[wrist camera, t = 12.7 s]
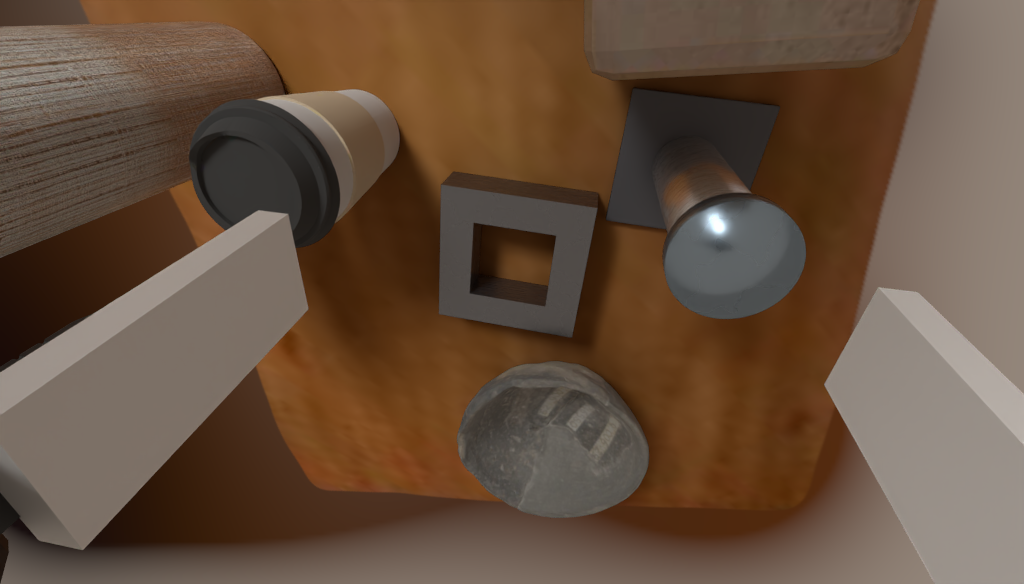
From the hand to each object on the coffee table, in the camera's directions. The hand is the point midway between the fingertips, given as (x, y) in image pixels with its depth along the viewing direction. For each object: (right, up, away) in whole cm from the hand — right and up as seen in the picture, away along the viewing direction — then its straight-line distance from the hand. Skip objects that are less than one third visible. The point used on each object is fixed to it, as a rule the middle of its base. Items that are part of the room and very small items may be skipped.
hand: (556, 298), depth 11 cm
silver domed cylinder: (+12, +9, +25) cm, 29 cm away
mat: (+12, +10, +25) cm, 29 cm away
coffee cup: (-14, +13, +28) cm, 34 cm away
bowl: (+4, -11, +39) cm, 41 cm away
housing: (-1, +4, +31) cm, 31 cm away
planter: (-24, +17, +28) cm, 41 cm away
